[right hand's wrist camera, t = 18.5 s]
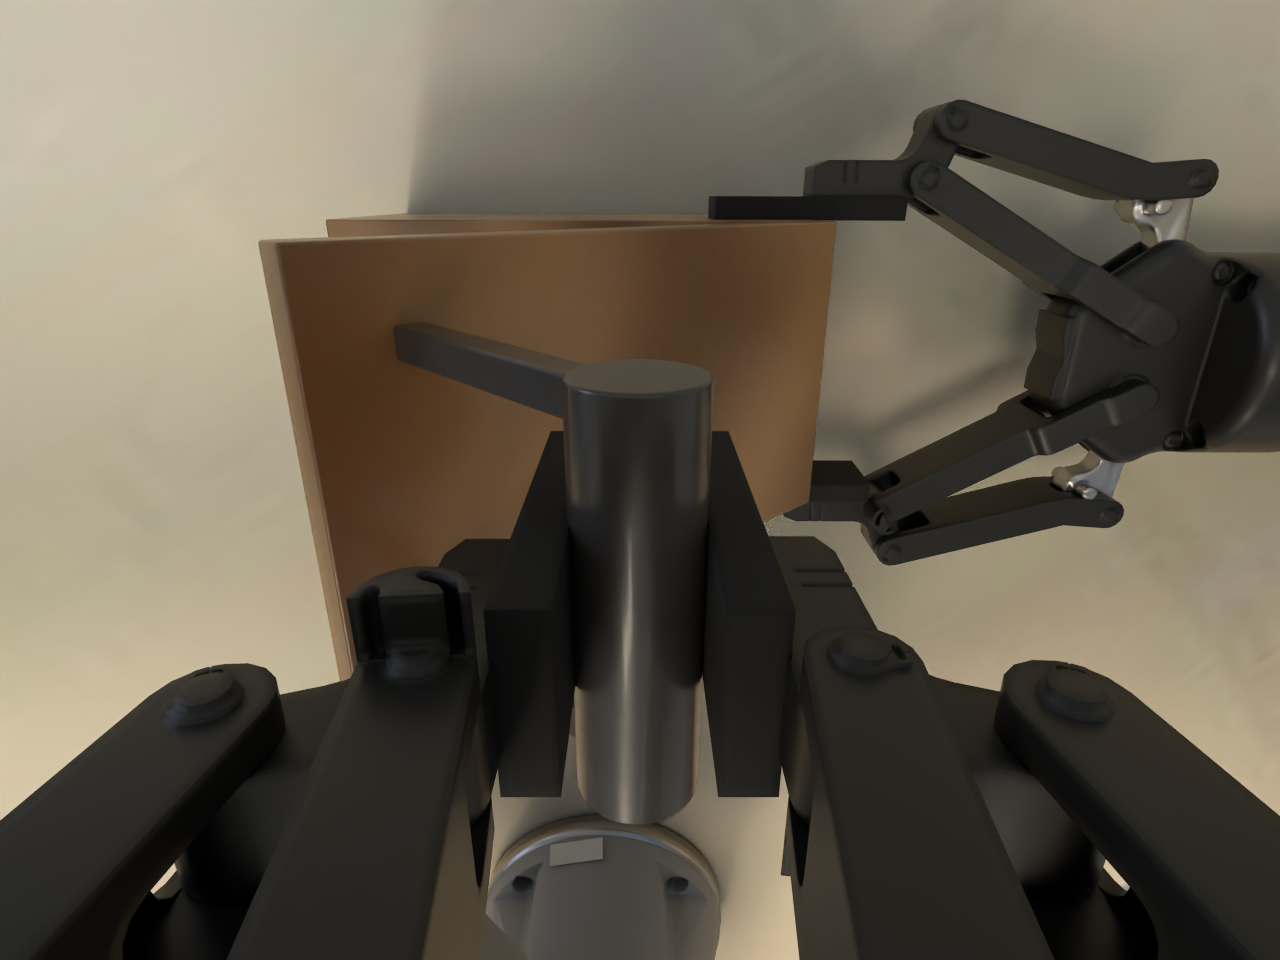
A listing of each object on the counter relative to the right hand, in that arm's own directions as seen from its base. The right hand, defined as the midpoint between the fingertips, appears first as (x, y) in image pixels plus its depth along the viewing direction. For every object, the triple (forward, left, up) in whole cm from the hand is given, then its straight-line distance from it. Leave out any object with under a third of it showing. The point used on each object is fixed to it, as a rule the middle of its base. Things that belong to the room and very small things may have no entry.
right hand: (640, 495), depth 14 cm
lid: (0, +1, -6) cm, 6 cm away
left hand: (+1, -2, -14) cm, 14 cm away
